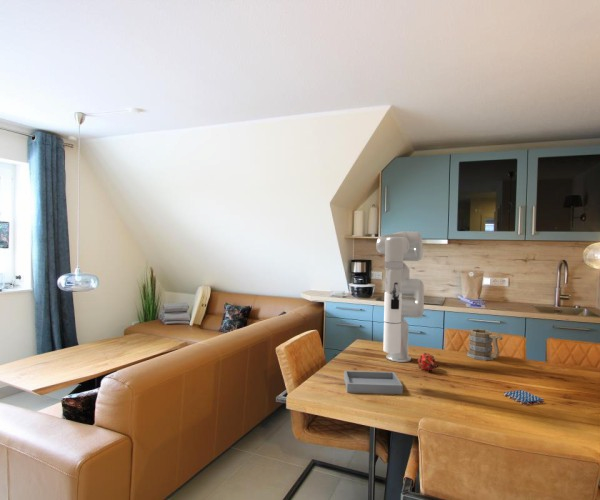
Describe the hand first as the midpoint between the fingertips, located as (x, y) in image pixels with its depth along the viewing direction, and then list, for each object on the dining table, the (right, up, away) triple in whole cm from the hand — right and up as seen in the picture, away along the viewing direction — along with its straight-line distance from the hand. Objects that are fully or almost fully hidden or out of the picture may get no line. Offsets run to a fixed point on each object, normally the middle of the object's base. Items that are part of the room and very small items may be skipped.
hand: (392, 307), depth 164 cm
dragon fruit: (+21, -33, +20) cm, 44 cm away
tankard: (+59, -34, +40) cm, 79 cm away
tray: (-9, -33, -2) cm, 34 cm away
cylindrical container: (0, -19, 0) cm, 19 cm away
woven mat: (+48, -35, -13) cm, 61 cm away
